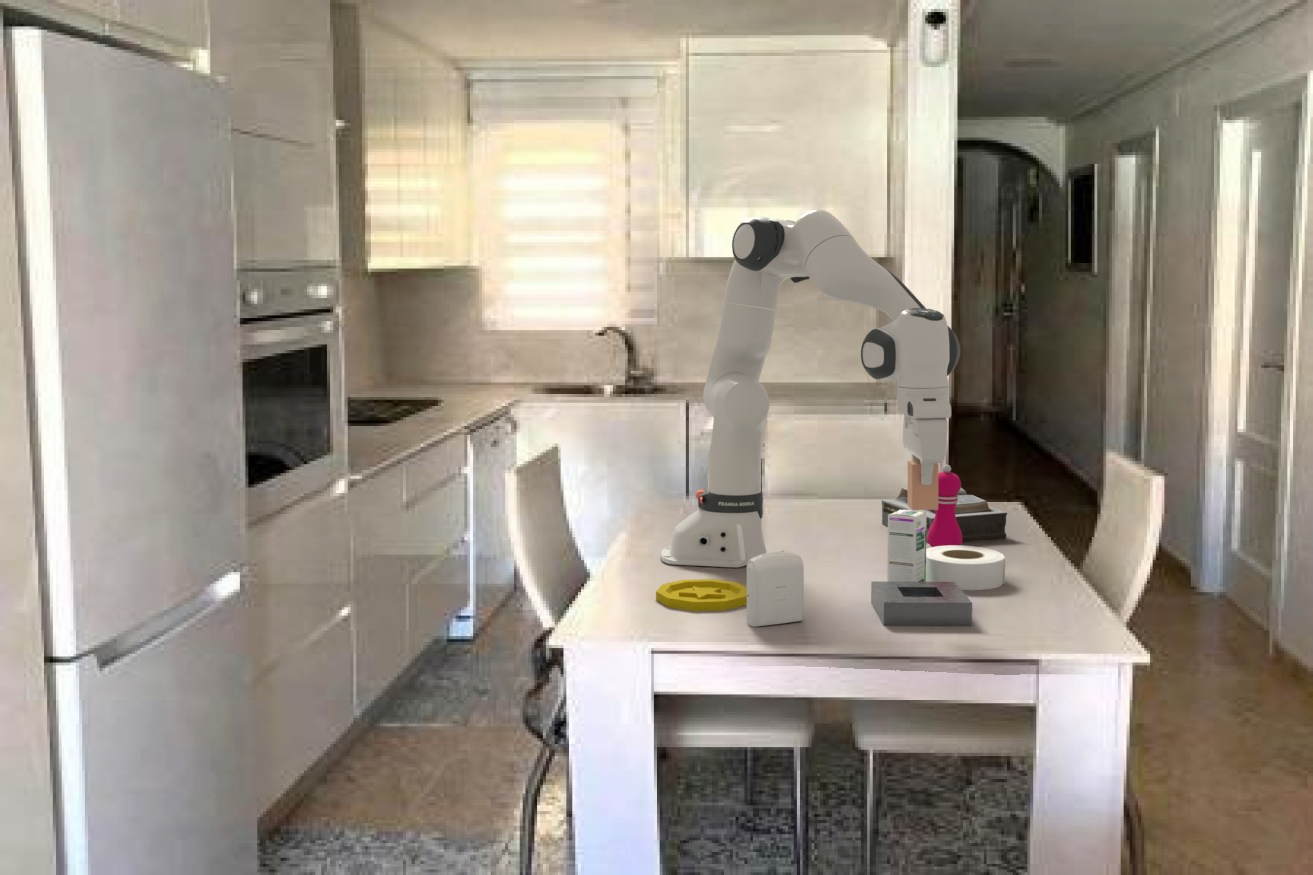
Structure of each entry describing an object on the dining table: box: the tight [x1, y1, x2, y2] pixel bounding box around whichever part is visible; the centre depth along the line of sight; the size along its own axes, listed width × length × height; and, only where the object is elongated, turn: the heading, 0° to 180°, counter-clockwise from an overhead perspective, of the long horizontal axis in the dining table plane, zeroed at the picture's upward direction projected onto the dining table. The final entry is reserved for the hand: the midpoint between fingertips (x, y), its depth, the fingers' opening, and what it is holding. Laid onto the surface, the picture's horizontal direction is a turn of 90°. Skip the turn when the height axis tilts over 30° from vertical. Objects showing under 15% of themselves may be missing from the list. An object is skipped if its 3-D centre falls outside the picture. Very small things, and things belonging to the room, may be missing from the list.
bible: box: [881, 487, 1008, 543], centre depth 306 cm, size 23×27×10 cm
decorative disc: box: [655, 578, 747, 612], centre depth 245 cm, size 17×18×2 cm
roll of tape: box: [926, 544, 1006, 591], centre depth 259 cm, size 16×16×6 cm
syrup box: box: [886, 510, 927, 582], centre depth 253 cm, size 6×6×14 cm
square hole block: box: [870, 580, 973, 627], centre depth 234 cm, size 15×15×4 cm
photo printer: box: [746, 551, 805, 628], centre depth 228 cm, size 10×4×12 cm, turn 112°
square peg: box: [907, 460, 939, 510], centre depth 231 cm, size 4×4×8 cm
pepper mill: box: [927, 464, 963, 548], centre depth 276 cm, size 7×7×20 cm
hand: (922, 481), depth 231 cm, fingers closed on square peg, 4 cm apart
